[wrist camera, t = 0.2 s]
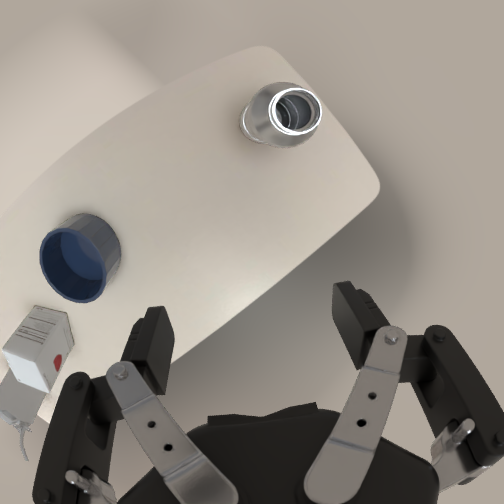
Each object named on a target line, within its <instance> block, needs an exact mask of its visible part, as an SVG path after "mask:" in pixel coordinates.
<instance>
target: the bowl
mask: <svg viewBox="0 0 504 504" xmlns="http://www.w3.org/2000/svg"><path fill="white" fill-rule="evenodd" d="M120 260H121V248H120V244H119V241H118V238H117V236H116V234H115V232H114V231H113V229H112V228H111V227H110V226H109V225H108V224H107V223H106V222H105V221H104V220H102V219H101V218H99V217H97V216H95V215H91V214H78V215H75V216H73V217H71V218H69V219H67V220H66V221H65V222H63V223H62V224H60V225H59V226H57V227H56V228H55V229H53V230H52V231H50V232H49V233H48V234H47V235H46V237H45V238H44V239H43V241H42V244H41V247H40V265H41V269H42V272H43V274H44V276H45V278H46V280H47V282H48V283H49V284H50V286H51V287H52V288H53V289H54V290H55V291H56V292H57V293H58V294H59V295H61V296H62V297H64V298H65V299H67V300H70V301H73V302H76V303H88V302H91V301H94V300H96V299H97V298H98V297H99V296H100V295H101V294H102V293H103V291H104V290H105V288H106V287H107V285H108V284H109V282H110V280H111V279H112V277H113V276H114V274H115V273H116V271H117V269H118V267H119V264H120Z"/></svg>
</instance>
